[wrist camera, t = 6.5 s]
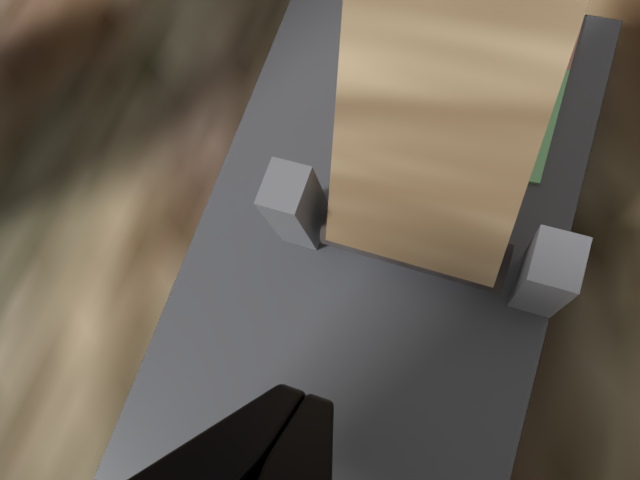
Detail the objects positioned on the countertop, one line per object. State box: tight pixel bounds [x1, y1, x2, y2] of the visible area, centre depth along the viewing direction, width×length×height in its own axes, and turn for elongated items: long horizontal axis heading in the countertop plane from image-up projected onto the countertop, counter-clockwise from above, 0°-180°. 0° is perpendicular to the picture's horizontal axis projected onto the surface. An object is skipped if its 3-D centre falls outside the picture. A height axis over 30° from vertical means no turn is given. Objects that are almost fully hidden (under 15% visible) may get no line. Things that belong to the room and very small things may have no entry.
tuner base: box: [94, 0, 622, 480], centre depth 14 cm, size 20×10×4 cm, turn 161°
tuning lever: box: [320, 0, 590, 294], centre depth 11 cm, size 2×4×9 cm
